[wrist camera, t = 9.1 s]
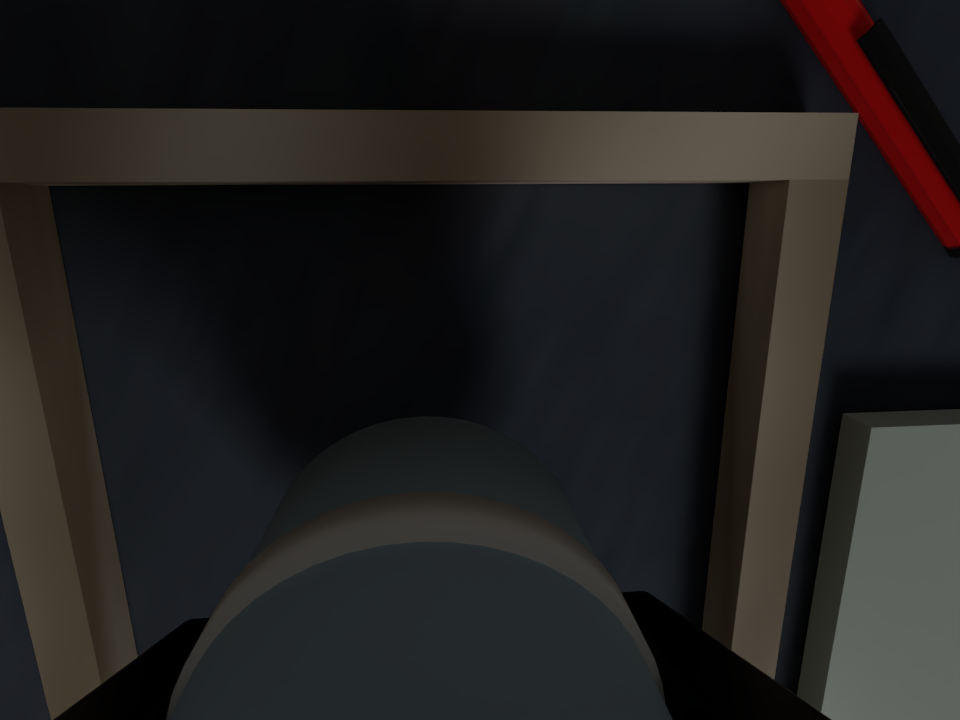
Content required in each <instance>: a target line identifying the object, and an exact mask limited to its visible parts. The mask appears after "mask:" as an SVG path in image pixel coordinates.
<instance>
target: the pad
mask: <svg viewBox="0 0 960 720" xmlns="http://www.w3.org/2000/svg"><path fill="white" fill-rule="evenodd" d="M797 696H798V697H800V698H801V699H802V700H804V701H805V702H807V703H808V704H810V705H811V706H813V707H814V708H815V709H817V710H818V711H820V712H821V713H823V714H824V715H826V716H827V717H828V718H830V719H831V720H960V409H947V410H920V411H893V412H866V413H843V414H842V420H841V427H840V433H839V439H838V445H837V451H836V457H835V464H834V470H833V476H832V482H831V488H830V494H829V500H828V507H827V513H826V519H825V525H824V531H823V537H822V544H821V550H820V556H819V562H818V568H817V574H816V580H815V587H814V593H813V599H812V605H811V611H810V617H809V624H808V630H807V636H806V642H805V648H804V654H803V661H802V667H801V673H800V679H799V685H798V691H797Z"/></svg>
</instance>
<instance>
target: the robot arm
mask: <svg viewBox="0 0 960 720" xmlns="http://www.w3.org/2000/svg"><path fill="white" fill-rule="evenodd" d="M621 593H622V595H623V597H624V599H625V601H626V603H627V605H628V607H629V609H630V611H631V613H632V615H633V617H634V619H635V621H636V623H637V625H638V627H639V629H640V631H641V633H642V635H643V637H644V639H645V641H646V643H647V645H648V647H649V649H650V651H651V653H652V655H653V657H654V659H655V662H656V665H657V668H658V671H659V674H660V677H661V681H662V684H663V691H664V697H665V704H666V706H667V708H668V711H669V713H670V715H671V717H672V719H673V720H831V719H830V718H828V717H827V716H826V715H824V714H823V713H821V712H820V711H818V710H817V709H815V708H814V707H813V706H811V705H810V704H808V703H807V702H805V701H804V700H802V699H801V698H800V697H798V696H797V695H795V694H794V693H792V692H791V691H790V690H788V689H787V688H785V687H784V686H782V685H781V684H779V683H778V682H777V681H775V680H774V679H772V678H771V677H769V676H768V675H766V674H765V673H764V672H762V671H761V670H759V669H758V668H756V667H755V666H754V665H752V664H751V663H749V662H748V661H746V660H745V659H743V658H742V657H741V656H739V655H738V654H736V653H735V652H733V651H732V650H730V649H729V648H728V647H726V646H725V645H723V644H722V643H720V642H719V641H717V640H716V639H715V638H713V637H712V636H710V635H709V634H707V633H706V632H705V631H703V630H702V629H700V628H699V627H697V626H696V625H694V624H693V623H692V622H690V621H689V620H687V619H686V618H684V617H683V616H681V615H680V614H679V613H677V612H676V611H674V610H673V609H671V608H670V607H668V606H667V605H666V604H664V603H663V602H661V601H660V600H658V599H657V598H656V597H654V596H653V595H651V594H650V593H648V592H645V591H635V592H621ZM209 619H210V618H199V619H190V620H188V621H186V622H184V623H183V624H182V625H180V626H179V627H177V628H176V629H175V630H173V631H172V632H171V633H169V634H168V635H167V636H165V637H164V638H163V639H161V640H160V641H159V642H157V643H156V644H155V645H153V646H152V647H150V648H149V649H148V650H146V651H145V652H144V653H142V654H141V655H140V656H138V657H137V658H136V659H134V660H133V661H132V662H130V663H129V664H128V665H126V666H125V667H123V668H122V669H121V670H119V671H118V672H117V673H115V674H114V675H113V676H111V677H110V678H109V679H107V680H106V681H105V682H103V683H102V684H101V685H99V686H98V687H96V688H95V689H94V690H92V691H91V692H90V693H88V694H87V695H86V696H84V697H83V698H82V699H80V700H79V701H78V702H76V703H75V704H73V705H72V706H71V707H69V708H68V709H67V710H65V711H64V712H63V713H61V714H60V715H59V716H57V717H56V718H55V719H53V720H166V716H167V712H168V708H169V704H170V700H171V696H172V692H173V690H174V688H175V685H176V683H177V681H178V678H179V676H180V674H181V672H182V669H183V667H184V665H185V663H186V661H187V659H188V657H189V656H190V654H191V652H192V650H193V648H194V646H195V644H196V643H197V641H198V639H199V637H200V635H201V633H202V632H203V630H204V628H205V626H206V624H207V622H208V620H209Z"/></svg>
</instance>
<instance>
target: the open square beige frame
mask: <svg viewBox="0 0 960 720" xmlns="http://www.w3.org/2000/svg"><path fill="white" fill-rule="evenodd" d="M858 114H859V113H779V112H621V111H464V110H306V109H148V108H0V511H1V515H2V519H3V523H4V528H5V532H6V536H7V540H8V544H9V548H10V552H11V556H12V561H13V565H14V569H15V573H16V577H17V581H18V585H19V589H20V593H21V598H22V602H23V606H24V610H25V614H26V618H27V622H28V626H29V631H30V635H31V639H32V643H33V647H34V651H35V655H36V659H37V663H38V668H39V672H40V676H41V680H42V684H43V688H44V692H45V696H46V701H47V705H48V709H49V713H50V717H51V720H53V719H55V718H56V717H57V716H59V715H60V714H61V713H63V712H64V711H65V710H67V709H68V708H69V707H71V706H72V705H73V704H75V703H76V702H78V701H79V700H80V699H82V698H83V697H84V696H86V695H87V694H88V693H90V692H91V691H92V690H94V689H95V688H96V687H98V686H99V685H101V684H102V683H103V682H105V681H106V680H107V679H109V678H110V677H111V676H113V675H114V674H115V673H117V672H118V671H119V670H121V669H122V668H123V667H125V666H126V665H128V664H129V663H130V662H132V661H133V660H134V659H136V658H137V657H138V656H137V651H136V646H135V640H134V635H133V630H132V624H131V619H130V614H129V609H128V603H127V598H126V593H125V587H124V582H123V577H122V572H121V566H120V561H119V556H118V550H117V545H116V540H115V534H114V529H113V524H112V519H111V513H110V508H109V503H108V497H107V492H106V487H105V482H104V476H103V471H102V466H101V460H100V455H99V450H98V445H97V439H96V434H95V429H94V423H93V418H92V413H91V408H90V402H89V397H88V392H87V386H86V381H85V376H84V371H83V365H82V360H81V355H80V349H79V344H78V339H77V334H76V328H75V323H74V318H73V312H72V307H71V302H70V297H69V291H68V286H67V281H66V275H65V270H64V265H63V260H62V254H61V249H60V244H59V238H58V233H57V228H56V223H55V217H54V212H53V207H52V201H51V196H50V191H49V186H86V185H356V184H627V183H750V185H749V194H748V204H747V213H746V222H745V232H744V241H743V250H742V260H741V269H740V278H739V288H738V297H737V306H736V316H735V325H734V334H733V343H732V353H731V362H730V371H729V381H728V390H727V399H726V409H725V418H724V427H723V437H722V446H721V455H720V465H719V474H718V483H717V492H716V502H715V511H714V520H713V530H712V539H711V548H710V558H709V567H708V576H707V586H706V595H705V604H704V614H703V623H702V630H703V631H705V632H706V633H707V634H709V635H710V636H712V637H713V638H715V639H716V640H717V641H719V642H720V643H722V644H723V645H725V646H726V647H728V648H729V649H730V650H732V651H733V652H735V653H736V654H738V655H739V656H741V657H742V658H743V659H745V660H746V661H748V662H749V663H751V664H752V665H754V666H755V667H756V668H758V669H759V670H761V671H762V672H764V673H765V674H766V675H768V676H769V677H771V678H772V679H774V678H775V671H776V664H777V658H778V651H779V644H780V638H781V631H782V624H783V617H784V611H785V604H786V597H787V591H788V584H789V577H790V570H791V564H792V557H793V550H794V544H795V537H796V530H797V523H798V517H799V510H800V503H801V497H802V490H803V483H804V476H805V470H806V463H807V456H808V450H809V443H810V436H811V429H812V423H813V416H814V409H815V403H816V396H817V389H818V382H819V376H820V369H821V362H822V356H823V349H824V342H825V335H826V329H827V322H828V315H829V309H830V302H831V295H832V289H833V282H834V275H835V268H836V262H837V255H838V248H839V242H840V235H841V228H842V221H843V215H844V208H845V201H846V195H847V188H848V181H849V174H850V168H851V161H852V154H853V148H854V141H855V134H856V127H857V121H858Z"/></svg>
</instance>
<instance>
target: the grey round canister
mask: <svg viewBox="0 0 960 720" xmlns="http://www.w3.org/2000/svg"><path fill="white" fill-rule="evenodd" d="M166 720H673V719H672V717H671V715H670V713H669V711H668V708H667V706H666V704H665V697H664V691H663V684H662V681H661V677H660V674H659V671H658V668H657V665H656V662H655V659H654V657H653V655H652V653H651V651H650V649H649V647H648V645H647V643H646V641H645V639H644V637H643V635H642V633H641V631H640V629H639V627H638V625H637V623H636V621H635V619H634V617H633V615H632V613H631V611H630V609H629V607H628V605H627V603H626V601H625V599H624V597H623V595H622V593H621V591H620V589H619V587H618V585H617V584H616V582H615V581H614V580H613V578H612V577H611V576H610V574H609V573H608V571H607V570H606V569H605V567H604V566H603V565H602V564H601V562H600V561H599V560H598V559H597V558H596V557H595V555H594V553H593V551H592V549H591V547H590V545H589V543H588V540H587V538H586V536H585V534H584V532H583V530H582V528H581V526H580V524H579V522H578V519H577V517H576V515H575V513H574V511H573V509H572V507H571V505H570V503H569V501H568V499H567V497H566V495H565V493H564V491H563V489H562V487H561V485H560V484H559V482H558V481H557V480H556V478H555V477H554V475H553V474H552V473H551V471H550V470H549V469H548V468H547V467H546V466H545V465H544V464H543V463H542V462H541V461H540V460H539V458H538V457H537V456H535V455H534V454H533V453H532V452H530V451H529V450H528V449H527V448H525V447H524V446H523V445H521V444H520V443H518V442H516V441H515V440H513V439H511V438H510V437H508V436H506V435H505V434H503V433H500V432H498V431H496V430H493V429H491V428H489V427H486V426H483V425H480V424H476V423H473V422H469V421H466V420H460V419H454V418H447V417H427V416H420V417H410V418H400V419H395V420H391V421H386V422H382V423H378V424H375V425H372V426H369V427H367V428H364V429H361V430H358V431H356V432H354V433H352V434H350V435H348V436H346V437H344V438H342V439H340V440H338V441H337V442H336V443H334V444H333V445H331V446H330V447H328V448H327V449H325V450H324V451H322V452H321V453H320V454H319V455H318V456H317V457H315V458H314V459H313V460H312V461H311V462H310V463H309V464H308V465H307V466H306V467H305V468H304V469H303V470H302V471H301V472H300V474H299V475H298V476H297V477H296V478H295V480H294V481H293V482H292V484H291V485H290V487H289V488H288V490H287V492H286V493H285V495H284V496H283V498H282V500H281V502H280V504H279V506H278V507H277V509H276V511H275V513H274V515H273V517H272V519H271V521H270V523H269V525H268V527H267V529H266V531H265V533H264V535H263V537H262V539H261V540H260V542H259V544H258V546H257V548H256V550H255V552H254V554H253V556H252V558H251V560H250V562H249V564H248V565H247V566H246V567H245V568H244V569H243V570H242V572H241V573H240V574H239V575H238V576H237V578H236V579H235V580H234V581H233V582H232V583H231V585H230V586H229V587H228V589H227V590H226V592H225V594H224V595H223V597H222V598H221V600H220V601H219V603H218V605H217V606H216V608H215V609H214V611H213V613H212V615H211V617H210V619H209V620H208V622H207V624H206V626H205V628H204V630H203V632H202V633H201V635H200V637H199V639H198V641H197V643H196V644H195V646H194V648H193V650H192V652H191V654H190V656H189V657H188V659H187V661H186V663H185V665H184V667H183V669H182V672H181V674H180V676H179V678H178V681H177V683H176V685H175V688H174V690H173V692H172V696H171V700H170V704H169V708H168V712H167V716H166Z"/></svg>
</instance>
